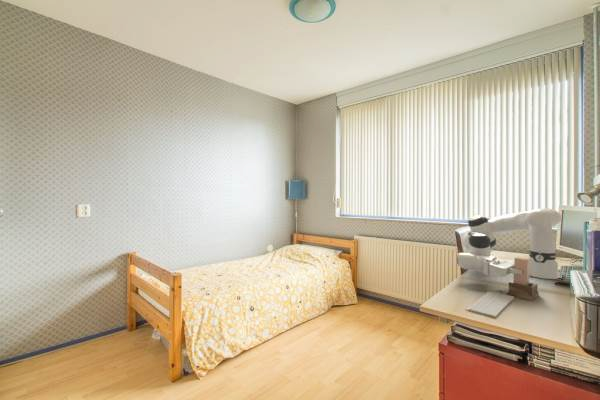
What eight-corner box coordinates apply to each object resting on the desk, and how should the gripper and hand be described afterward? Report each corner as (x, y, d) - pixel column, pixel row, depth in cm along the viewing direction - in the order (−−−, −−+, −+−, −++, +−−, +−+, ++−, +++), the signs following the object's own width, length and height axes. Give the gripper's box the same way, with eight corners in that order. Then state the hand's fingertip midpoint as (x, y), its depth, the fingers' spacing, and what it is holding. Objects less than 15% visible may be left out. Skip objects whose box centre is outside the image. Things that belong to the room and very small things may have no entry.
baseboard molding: (461, 310, 121) (495, 320, 113) (461, 303, 121) (495, 312, 113) (484, 293, 143) (514, 299, 134) (484, 287, 143) (514, 293, 134)
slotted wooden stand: (515, 289, 146) (515, 278, 146) (538, 294, 139) (538, 283, 139) (506, 295, 138) (507, 283, 138) (530, 301, 131) (530, 288, 131)
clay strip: (516, 285, 142) (517, 256, 142) (529, 288, 138) (530, 258, 138) (513, 287, 139) (514, 257, 139) (526, 290, 136) (527, 260, 135)
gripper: (497, 268, 155) (530, 274, 144) (482, 274, 142) (517, 282, 132) (498, 256, 155) (530, 261, 144) (483, 261, 142) (517, 268, 131)
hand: (524, 271), depth 138 cm, fingers closed on clay strip, 4 cm apart
